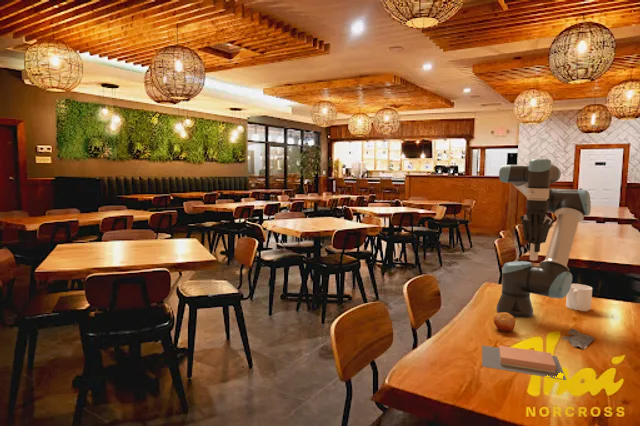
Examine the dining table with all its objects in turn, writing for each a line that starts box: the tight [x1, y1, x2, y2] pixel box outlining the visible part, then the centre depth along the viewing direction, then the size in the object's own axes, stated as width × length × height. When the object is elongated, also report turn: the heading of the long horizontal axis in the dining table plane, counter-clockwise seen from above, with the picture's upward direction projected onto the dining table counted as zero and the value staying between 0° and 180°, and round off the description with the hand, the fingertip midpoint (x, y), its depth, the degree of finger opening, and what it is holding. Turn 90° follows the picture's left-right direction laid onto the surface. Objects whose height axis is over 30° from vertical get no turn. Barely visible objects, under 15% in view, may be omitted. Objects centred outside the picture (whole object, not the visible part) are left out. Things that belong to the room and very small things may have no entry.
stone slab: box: [561, 328, 596, 351], centre depth 162 cm, size 18×2×10 cm
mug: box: [565, 283, 593, 312], centre depth 200 cm, size 13×10×10 cm
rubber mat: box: [481, 345, 567, 381], centre depth 142 cm, size 24×18×1 cm
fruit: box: [493, 312, 516, 333], centre depth 171 cm, size 8×8×8 cm
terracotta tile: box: [498, 345, 556, 373], centre depth 141 cm, size 2×10×16 cm
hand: (533, 259), depth 166 cm, fingers closed
